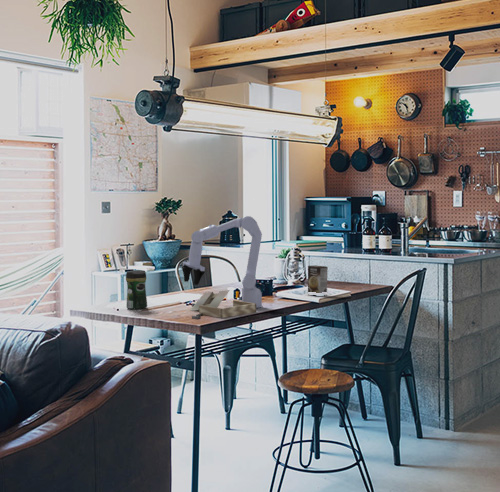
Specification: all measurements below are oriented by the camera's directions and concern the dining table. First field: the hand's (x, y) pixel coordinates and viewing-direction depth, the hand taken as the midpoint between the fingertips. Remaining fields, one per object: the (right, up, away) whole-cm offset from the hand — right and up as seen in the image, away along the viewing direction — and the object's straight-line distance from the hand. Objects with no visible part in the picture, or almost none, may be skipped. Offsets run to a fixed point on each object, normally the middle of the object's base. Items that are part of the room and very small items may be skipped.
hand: (191, 283), depth 334 cm
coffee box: (+65, -9, +39) cm, 76 cm away
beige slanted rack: (+10, -13, -7) cm, 18 cm away
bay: (+18, -13, -16) cm, 28 cm away
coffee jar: (-26, -12, -1) cm, 29 cm away
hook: (+6, -14, -26) cm, 30 cm away
